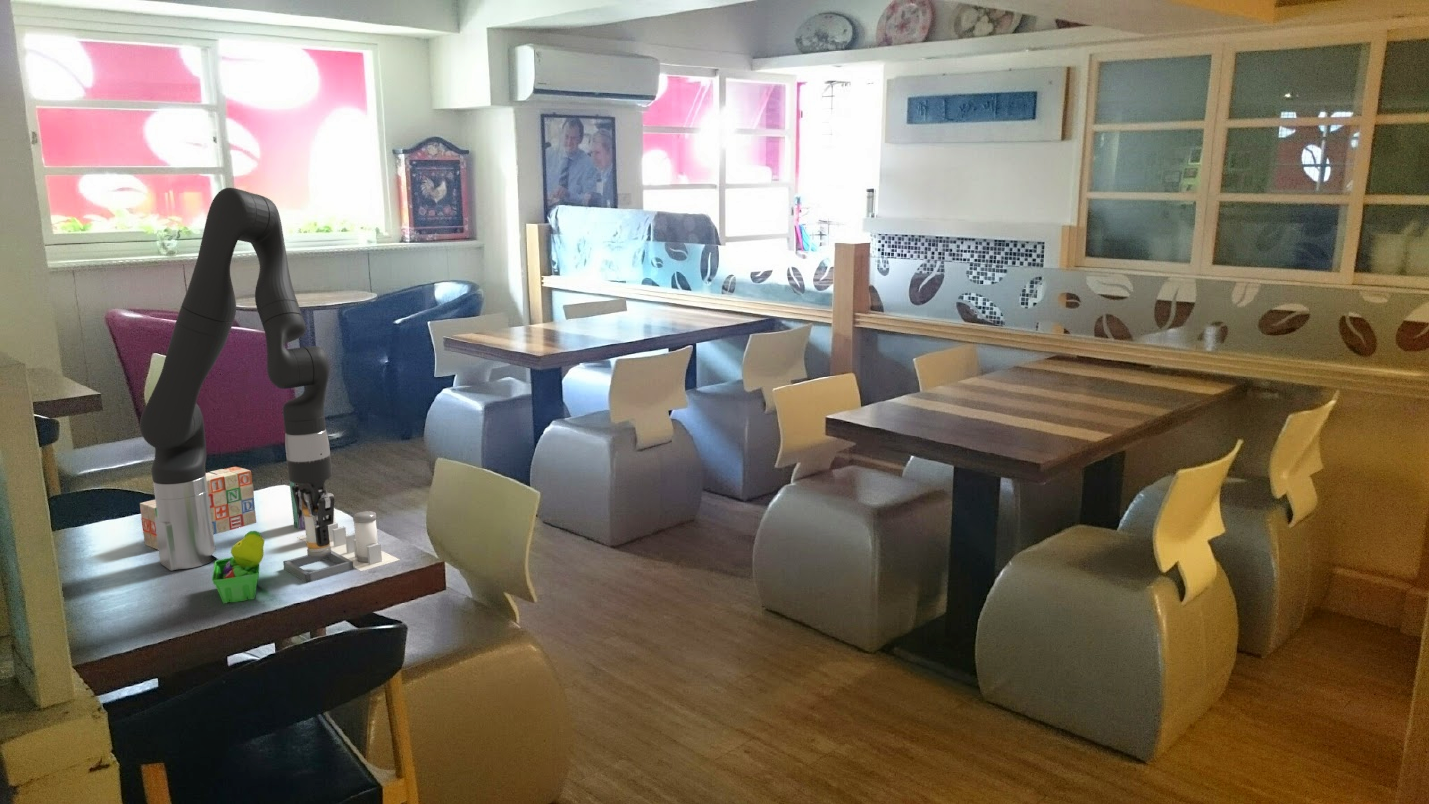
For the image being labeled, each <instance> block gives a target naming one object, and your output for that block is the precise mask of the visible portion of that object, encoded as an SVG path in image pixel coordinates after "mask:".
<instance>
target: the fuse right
mask: <svg viewBox="0 0 1429 804" xmlns="http://www.w3.org/2000/svg"><path fill="white" fill-rule="evenodd" d="M352 522H353V526H354V528H353V529H354V533H355V539H356V550H357V555H356V556H357V561H358V562H360V563H368V553H367V546H370V545H374V544H377V543H379V542H378V541H379V540H378V539H379V538H378V531H377V513H376V512H375V511H370V510H365V511H359V512H356V513H354V514H353V515H352Z"/></svg>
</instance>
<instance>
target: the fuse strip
mask: <svg viewBox="0 0 1429 804" xmlns="http://www.w3.org/2000/svg"><path fill="white" fill-rule="evenodd" d="M338 524H339V523H337V522H336V523H333V524H331V525H328V529H329V537H330V546H331V550H332V551H333V552H335V553H337V554H339V555H341V556H343V557H345V558H347V559H349V560H351V561H353V568H354V569H356V570H357V571H359V572H364V571H367V570H371V569H374V568H377V567H380V566H381V567H382V566H384V565H387V564H391V563H395V562H399V561H401V559H400V558H397V557H396V556H394V555H392V554H389V553H387V552H385V551H383V550H382V546H381V543H379V542H378V543H377V544H374V545H370V546H367V553H368V563H360V562H358V561H357V556H356V555H357V550H356V539H355V532H354V533H351V534H349V533H347V531H346V527H345V526H341V527H340V526H339V525H338ZM297 539H299V540H301V541H303V542H305V543H307V542H306V541H307V539H306V534H304V535H300V536H297Z"/></svg>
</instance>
